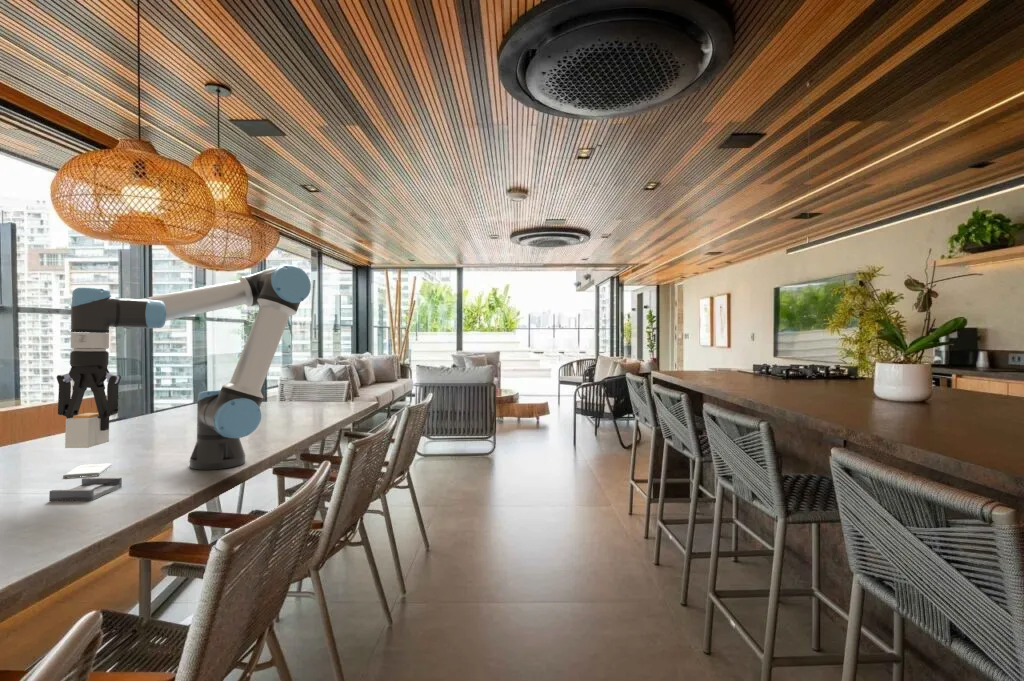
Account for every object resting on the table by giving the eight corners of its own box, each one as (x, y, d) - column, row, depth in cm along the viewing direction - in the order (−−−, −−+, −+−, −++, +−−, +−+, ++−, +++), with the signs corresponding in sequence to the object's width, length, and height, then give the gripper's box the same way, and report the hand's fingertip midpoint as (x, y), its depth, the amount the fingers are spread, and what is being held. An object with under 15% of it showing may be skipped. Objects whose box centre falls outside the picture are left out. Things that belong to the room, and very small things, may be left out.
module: (108, 441, 136) (109, 412, 136) (87, 447, 128) (88, 416, 128) (87, 441, 135) (88, 412, 135) (65, 448, 127) (65, 416, 128)
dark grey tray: (121, 487, 138) (121, 477, 138) (90, 501, 126) (90, 490, 126) (84, 487, 137) (84, 477, 137) (49, 501, 125) (49, 491, 125)
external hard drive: (62, 480, 146) (78, 470, 157) (99, 478, 149) (112, 467, 160) (62, 474, 146) (78, 464, 157) (99, 472, 149) (112, 462, 160)
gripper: (38, 349, 127) (36, 446, 127) (119, 351, 129) (117, 446, 129) (61, 349, 135) (59, 440, 134) (137, 350, 137) (135, 440, 137)
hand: (87, 443), depth 132 cm, fingers closed on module, 5 cm apart
